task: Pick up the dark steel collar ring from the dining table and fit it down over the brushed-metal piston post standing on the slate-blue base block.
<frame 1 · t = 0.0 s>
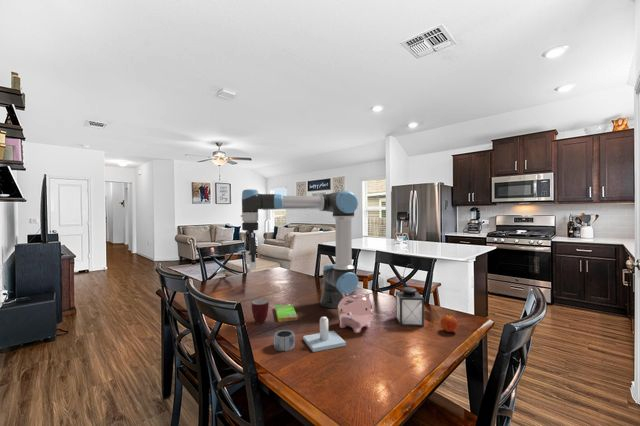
hand: (250, 266, 140), 28 cm above the table, fingers open, 13 cm apart
game box: (285, 315, 155), on the table
mug: (259, 323, 142), on the table
lantern: (409, 322, 143), on the table
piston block: (324, 342, 121), on the table
piggy bank: (356, 327, 137), on the table
fruit: (449, 331, 131), on the table
ring: (284, 346, 118), on the table
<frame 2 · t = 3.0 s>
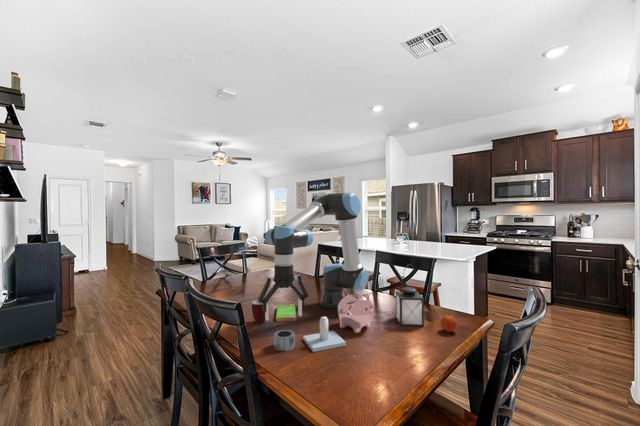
hand: (283, 317, 118), 12 cm above the table, fingers open, 13 cm apart
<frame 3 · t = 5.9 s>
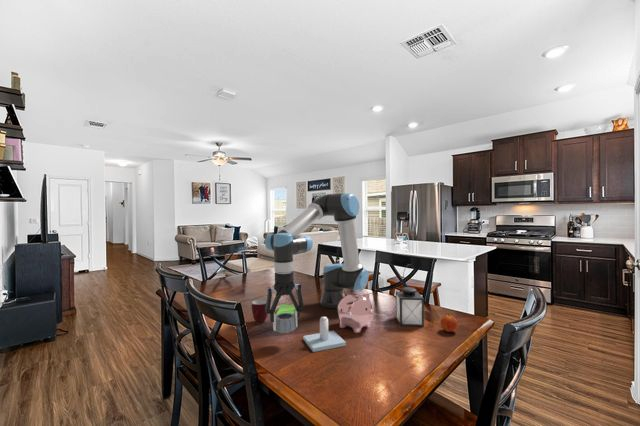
hand: (285, 327, 118), 7 cm above the table, fingers closed on ring, 8 cm apart
ring: (285, 328, 118), point 7 cm above the table, touching gripper
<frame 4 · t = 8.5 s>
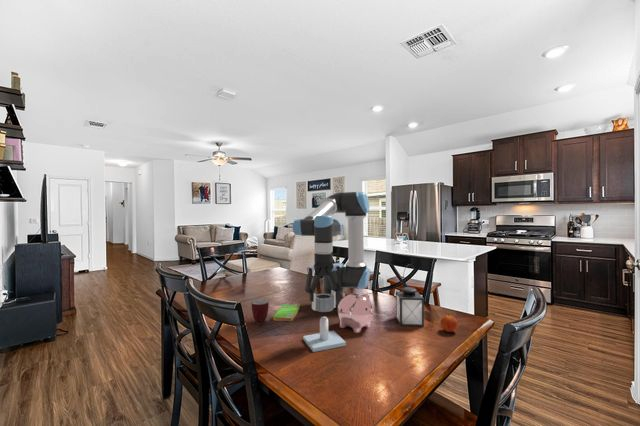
hand: (323, 307, 121), 14 cm above the table, fingers closed on ring, 8 cm apart
ring: (323, 308, 121), point 14 cm above the table, touching gripper
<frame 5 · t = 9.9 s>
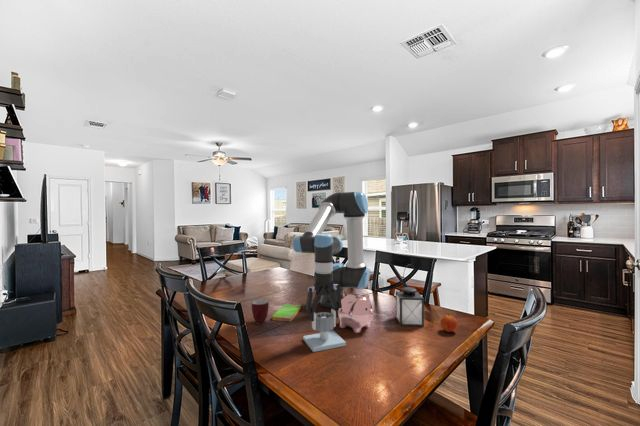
hand: (323, 327, 121), 6 cm above the table, fingers closed on ring, 8 cm apart
ring: (323, 327, 121), point 6 cm above the table, touching gripper
when the fingers open (3 cm above the table, at t = 11.1 s): ring stays where it is, resting on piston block.
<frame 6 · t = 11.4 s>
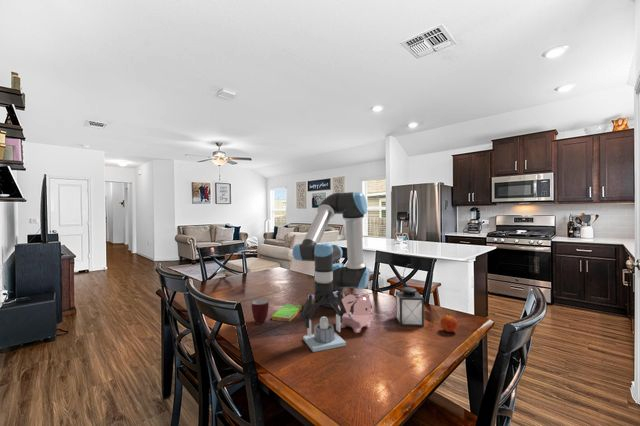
hand: (324, 333, 121), 4 cm above the table, fingers open, 12 cm apart
ring: (324, 338, 121), point 1 cm above the table, touching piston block
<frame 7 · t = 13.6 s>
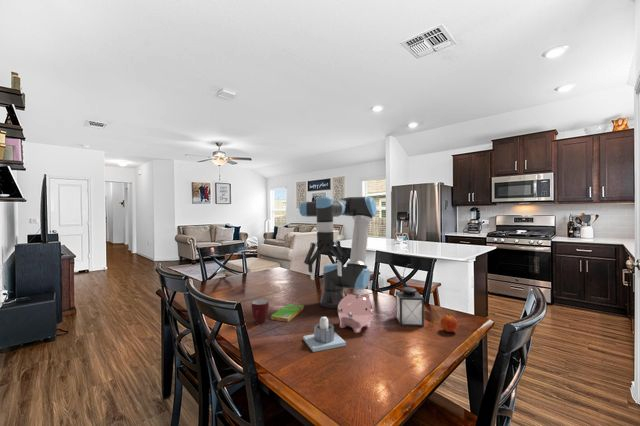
hand: (326, 277, 134), 24 cm above the table, fingers open, 13 cm apart
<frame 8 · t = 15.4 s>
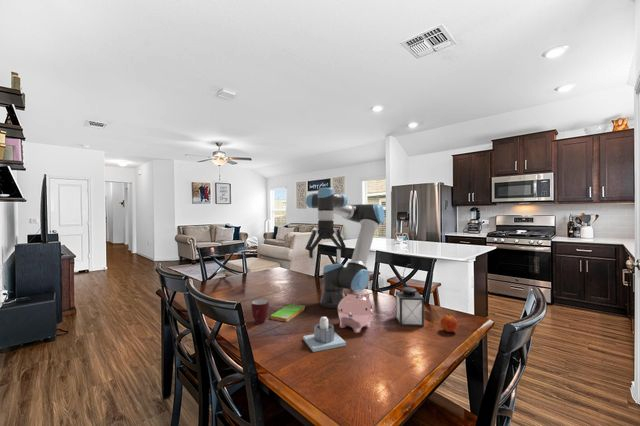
hand: (326, 263, 142), 29 cm above the table, fingers open, 13 cm apart
at the end: ring 0.1 cm off-centre on the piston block, point 1.5 cm above the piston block's base; the gripper is holding nothing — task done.
